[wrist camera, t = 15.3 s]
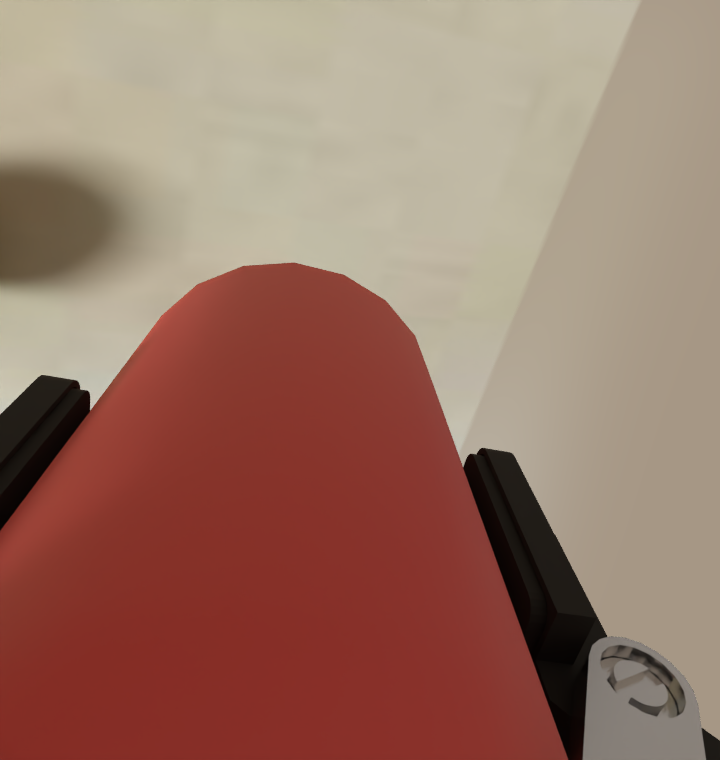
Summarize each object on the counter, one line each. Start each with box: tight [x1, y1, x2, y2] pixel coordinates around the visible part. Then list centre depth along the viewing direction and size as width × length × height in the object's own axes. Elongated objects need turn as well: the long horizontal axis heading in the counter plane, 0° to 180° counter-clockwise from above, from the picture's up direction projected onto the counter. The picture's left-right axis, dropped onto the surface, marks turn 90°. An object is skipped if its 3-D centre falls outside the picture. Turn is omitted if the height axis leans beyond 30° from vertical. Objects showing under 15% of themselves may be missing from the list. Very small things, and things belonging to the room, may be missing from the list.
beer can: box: [0, 263, 568, 760], centre depth 9 cm, size 7×7×12 cm
